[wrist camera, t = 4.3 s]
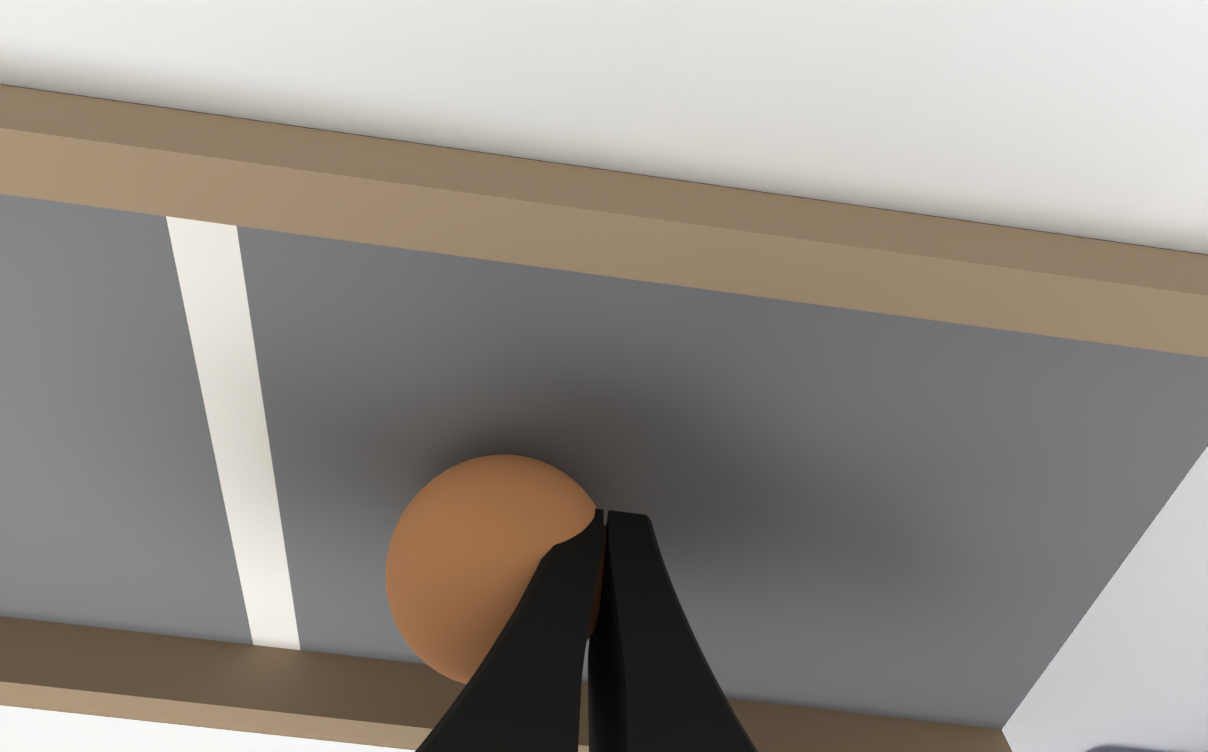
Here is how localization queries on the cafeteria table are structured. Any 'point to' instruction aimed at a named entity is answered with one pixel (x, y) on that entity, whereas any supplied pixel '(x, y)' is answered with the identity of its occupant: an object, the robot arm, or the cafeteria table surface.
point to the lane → (552, 422)
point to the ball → (478, 554)
